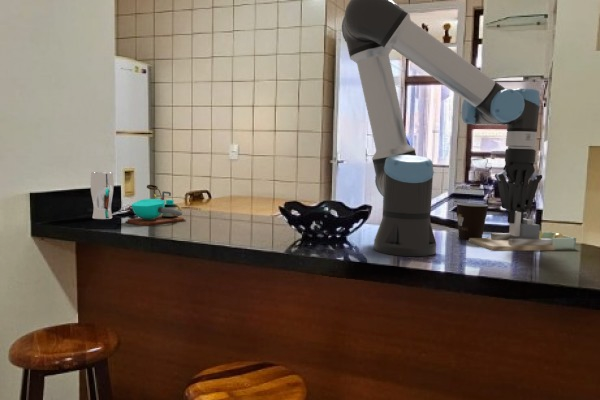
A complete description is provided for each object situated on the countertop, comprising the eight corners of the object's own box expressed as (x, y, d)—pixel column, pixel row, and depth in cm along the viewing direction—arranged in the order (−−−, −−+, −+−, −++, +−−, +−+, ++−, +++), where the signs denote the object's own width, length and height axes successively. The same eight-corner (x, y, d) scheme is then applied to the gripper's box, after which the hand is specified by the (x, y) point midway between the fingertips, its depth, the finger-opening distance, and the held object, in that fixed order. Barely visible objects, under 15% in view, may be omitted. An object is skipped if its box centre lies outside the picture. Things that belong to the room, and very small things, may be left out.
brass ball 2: (561, 248, 144) (560, 242, 142) (550, 243, 146) (549, 237, 144) (567, 240, 145) (567, 234, 142) (556, 235, 147) (555, 229, 144)
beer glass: (89, 220, 167) (88, 173, 165) (93, 217, 174) (92, 171, 172) (112, 220, 168) (111, 173, 167) (115, 217, 175) (114, 172, 174)
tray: (552, 249, 140) (552, 238, 139) (528, 242, 150) (529, 232, 149) (575, 249, 141) (576, 238, 141) (550, 242, 151) (551, 231, 151)
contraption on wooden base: (195, 223, 169) (196, 176, 167) (149, 229, 154) (149, 178, 153) (166, 218, 177) (166, 173, 175) (120, 224, 162) (120, 175, 161)
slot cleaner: (521, 243, 140) (523, 220, 140) (509, 239, 146) (511, 217, 145) (538, 243, 141) (540, 220, 141) (526, 239, 147) (527, 217, 146)
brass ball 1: (542, 241, 146) (535, 244, 144) (533, 234, 148) (525, 237, 146) (547, 233, 144) (540, 236, 143) (538, 225, 146) (530, 228, 144)
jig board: (492, 251, 135) (493, 240, 135) (468, 242, 147) (469, 232, 147) (554, 250, 139) (555, 240, 138) (526, 241, 150) (527, 232, 150)
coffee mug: (487, 242, 148) (490, 207, 147) (456, 240, 150) (458, 205, 149) (482, 235, 159) (484, 202, 158) (452, 233, 161) (454, 201, 160)
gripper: (506, 147, 135) (500, 237, 138) (551, 149, 138) (544, 237, 140) (490, 147, 143) (484, 233, 145) (533, 148, 145) (527, 232, 148)
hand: (514, 235), depth 143 cm, fingers closed
